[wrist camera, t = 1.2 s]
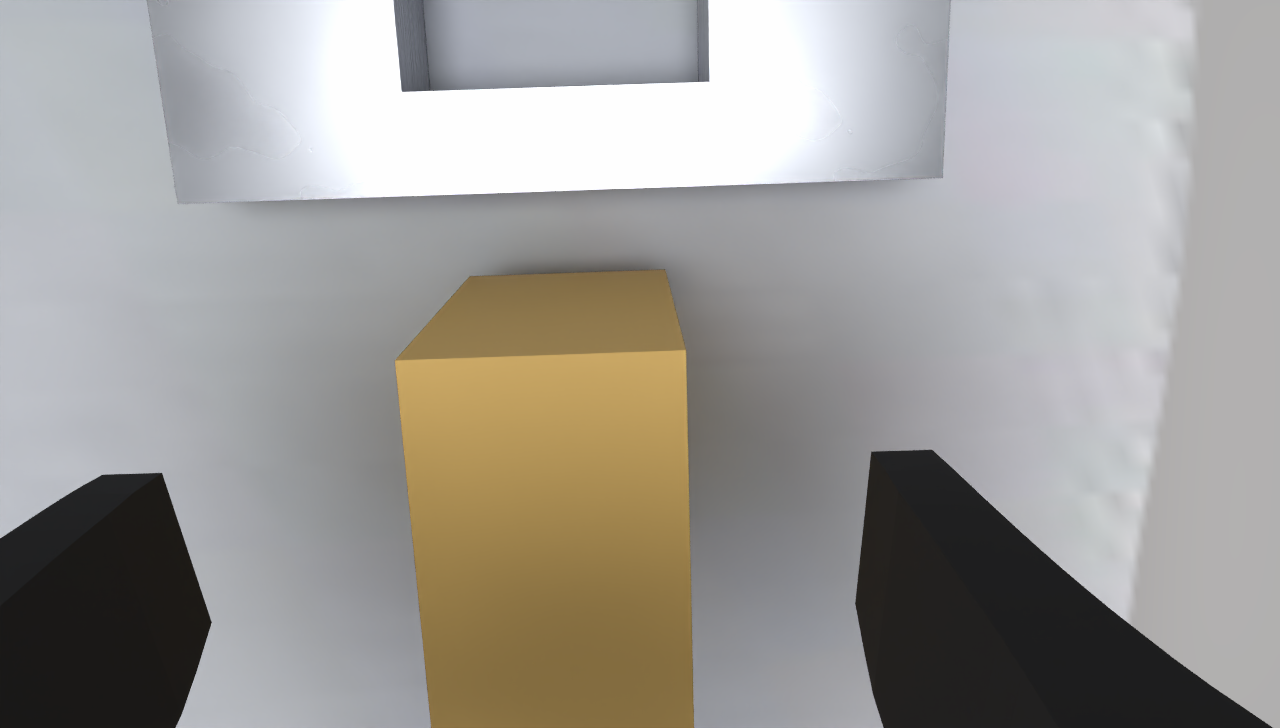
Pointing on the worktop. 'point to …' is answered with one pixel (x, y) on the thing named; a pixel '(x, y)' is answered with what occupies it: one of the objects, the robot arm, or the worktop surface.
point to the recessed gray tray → (542, 104)
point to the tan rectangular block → (552, 502)
